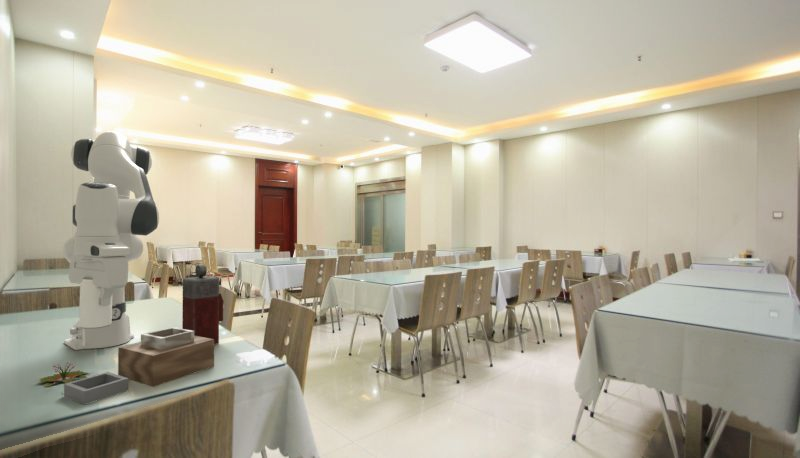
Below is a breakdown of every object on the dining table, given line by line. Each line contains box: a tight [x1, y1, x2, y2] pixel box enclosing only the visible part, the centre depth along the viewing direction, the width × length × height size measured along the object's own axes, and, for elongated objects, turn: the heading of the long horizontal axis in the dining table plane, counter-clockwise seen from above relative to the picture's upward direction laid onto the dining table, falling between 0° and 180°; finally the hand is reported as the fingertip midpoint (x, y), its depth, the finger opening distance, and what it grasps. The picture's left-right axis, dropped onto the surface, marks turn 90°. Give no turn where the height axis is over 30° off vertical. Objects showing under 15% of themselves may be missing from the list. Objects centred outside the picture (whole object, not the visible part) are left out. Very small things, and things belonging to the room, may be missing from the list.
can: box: [78, 278, 112, 329], centre depth 101 cm, size 6×6×12 cm
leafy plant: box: [36, 362, 88, 388], centre depth 110 cm, size 12×12×5 cm
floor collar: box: [63, 371, 130, 405], centre depth 101 cm, size 10×10×3 cm
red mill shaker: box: [181, 264, 224, 345], centre depth 146 cm, size 9×11×28 cm
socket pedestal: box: [117, 326, 215, 388], centre depth 116 cm, size 16×18×11 cm
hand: (96, 303), depth 101 cm, fingers closed on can, 6 cm apart
